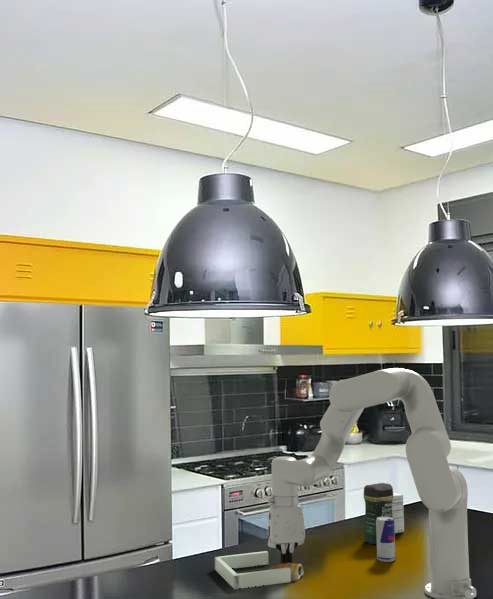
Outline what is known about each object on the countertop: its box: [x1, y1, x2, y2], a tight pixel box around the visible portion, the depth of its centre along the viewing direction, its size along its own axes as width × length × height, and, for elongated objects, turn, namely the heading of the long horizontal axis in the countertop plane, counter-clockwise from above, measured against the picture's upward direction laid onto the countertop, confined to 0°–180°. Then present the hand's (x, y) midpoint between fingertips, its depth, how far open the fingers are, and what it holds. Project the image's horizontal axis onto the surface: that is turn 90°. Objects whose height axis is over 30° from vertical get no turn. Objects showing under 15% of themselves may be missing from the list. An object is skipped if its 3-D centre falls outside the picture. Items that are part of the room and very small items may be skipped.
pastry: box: [268, 562, 304, 582], centre depth 196 cm, size 9×7×4 cm
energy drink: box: [376, 516, 397, 563], centre depth 210 cm, size 5×5×12 cm
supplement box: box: [392, 491, 405, 534], centre depth 243 cm, size 7×7×13 cm
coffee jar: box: [363, 482, 394, 545], centre depth 229 cm, size 10×8×19 cm
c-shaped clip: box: [214, 550, 292, 590], centre depth 197 cm, size 18×16×4 cm
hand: (286, 566), depth 201 cm, fingers closed
